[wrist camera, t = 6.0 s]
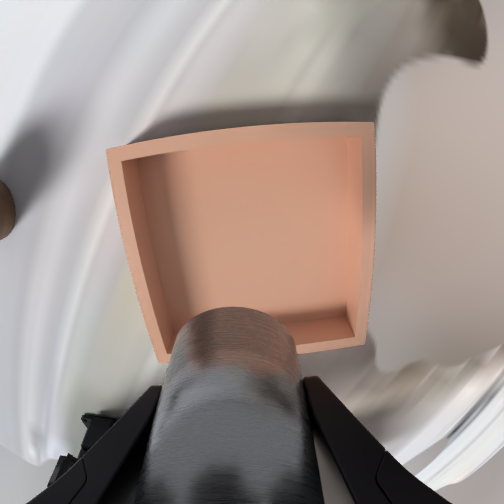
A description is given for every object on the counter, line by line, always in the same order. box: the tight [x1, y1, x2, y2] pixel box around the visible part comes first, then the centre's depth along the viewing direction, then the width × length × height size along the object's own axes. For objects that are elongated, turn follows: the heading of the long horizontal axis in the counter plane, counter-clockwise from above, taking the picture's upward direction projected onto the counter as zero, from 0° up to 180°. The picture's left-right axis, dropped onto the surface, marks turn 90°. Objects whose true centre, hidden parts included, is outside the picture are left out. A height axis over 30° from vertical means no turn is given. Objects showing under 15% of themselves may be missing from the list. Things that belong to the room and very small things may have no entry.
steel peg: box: [134, 307, 325, 504], centre depth 7 cm, size 4×4×6 cm
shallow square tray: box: [106, 122, 376, 363], centre depth 18 cm, size 14×14×3 cm
